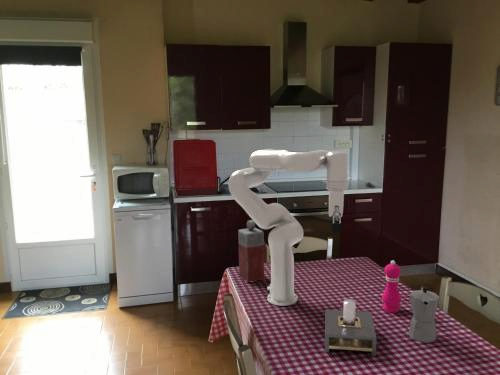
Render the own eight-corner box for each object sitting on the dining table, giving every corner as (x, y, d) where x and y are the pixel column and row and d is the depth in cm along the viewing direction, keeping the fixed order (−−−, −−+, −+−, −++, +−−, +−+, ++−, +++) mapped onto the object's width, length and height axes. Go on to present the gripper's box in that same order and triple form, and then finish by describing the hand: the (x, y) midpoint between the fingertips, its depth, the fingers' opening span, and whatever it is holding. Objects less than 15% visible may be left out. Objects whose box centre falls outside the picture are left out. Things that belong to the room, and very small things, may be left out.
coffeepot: (439, 347, 146) (442, 296, 143) (408, 343, 149) (411, 293, 146) (434, 326, 161) (437, 278, 158) (407, 322, 164) (409, 276, 161)
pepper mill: (401, 314, 171) (404, 264, 167) (382, 312, 172) (384, 263, 169) (399, 305, 178) (401, 257, 174) (380, 304, 179) (382, 257, 176)
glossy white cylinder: (339, 339, 153) (340, 301, 150) (348, 335, 155) (349, 297, 153) (349, 344, 149) (350, 305, 147) (357, 340, 152) (358, 302, 149)
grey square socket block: (325, 326, 162) (325, 308, 161) (370, 328, 160) (370, 311, 159) (325, 352, 145) (325, 333, 144) (375, 356, 142) (376, 336, 141)
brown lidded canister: (268, 278, 208) (268, 220, 203) (247, 283, 203) (246, 223, 199) (259, 272, 216) (259, 216, 211) (239, 276, 211) (237, 219, 206)
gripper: (326, 181, 172) (325, 224, 175) (326, 189, 156) (326, 236, 159) (346, 181, 171) (345, 224, 174) (348, 189, 154) (347, 237, 157)
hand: (336, 230), depth 166 cm, fingers open, 9 cm apart
